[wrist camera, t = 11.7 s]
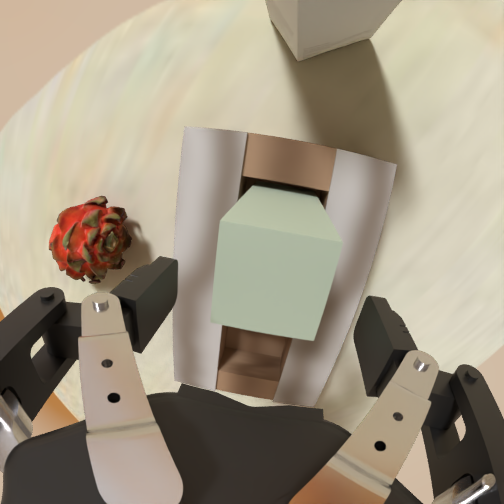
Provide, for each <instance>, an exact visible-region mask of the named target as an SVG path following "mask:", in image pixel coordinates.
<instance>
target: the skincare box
mask: <svg viewBox="0 0 504 504" xmlns="http://www.w3.org/2000/svg"><path fill="white" fill-rule="evenodd" d="M265 1H266V5H267V9H268V13H269V18H270V19H271V20H272V22H273V23H274V25H275V26H276V28H277V29H278V31H279V32H280V34H281V35H282V37H283V39H284V40H285V42H286V43H287V45H288V46H289V48H290V50H291V51H292V53H293V55H294V56H295V58H296V60H297V61H302V60H305V59H308V58H310V57H313V56H316V55H318V54H321V53H324V52H327V51H330V50H333V49H336V48H340V47H343V46H346V45H349V44H352V43H355V42H358V41H361V40H365V39H370V38H371V37H372V36H373V34H374V33H375V32H376V31H377V30H378V28H379V27H380V26H381V25H382V23H383V22H384V21H385V20H386V19H387V17H388V16H389V15H390V14H391V13H392V11H393V10H394V9H395V8H396V6H397V5H398V4H399V3H400V2H401V1H402V0H265Z"/></svg>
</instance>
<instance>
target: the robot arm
mask: <svg viewBox="0 0 504 504" xmlns="http://www.w3.org/2000/svg"><path fill="white" fill-rule="evenodd" d="M177 293H178V261H177V260H176V259H171V258H167V257H162V256H160V257H158V258H157V259H156V260H155V261H154V262H153V263H152V264H151V265H145V266H142V267H140V268H137V269H136V270H135V271H134V272H133V273H131V275H129V276H128V277H127V278H126V279H125V280H123V281H122V282H121V283H120V284H119V285H118V286H117V287H116V288H114V289H113V290H112V291H111V292H110V293H105V292H100V293H94V294H91V295H89V296H87V297H86V298H85V299H84V300H83V301H82V303H73V302H66V301H65V296H64V292H63V291H62V290H61V289H59V288H54V287H48V288H43V289H40V290H38V291H37V292H35V293H34V294H33V295H31V296H30V297H29V298H28V299H27V300H25V301H24V302H23V303H22V304H20V305H19V306H18V307H17V308H16V309H14V310H13V311H12V312H11V313H10V314H9V315H7V316H6V317H5V318H4V319H3V320H2V321H1V322H0V471H1V472H2V473H3V494H2V501H1V504H423V503H421V501H419V500H418V499H417V498H416V497H415V496H414V495H413V494H412V493H411V492H410V491H409V490H408V489H407V488H406V487H404V486H403V485H402V484H401V483H400V482H399V481H398V480H397V479H396V478H395V477H396V476H397V474H398V472H399V471H400V469H401V467H402V465H403V463H404V461H405V460H406V458H407V456H408V454H409V452H410V450H411V448H412V446H413V444H414V442H415V440H416V438H417V436H418V434H419V432H420V429H421V431H422V435H423V439H424V444H425V449H426V453H427V458H428V464H429V469H430V475H431V481H432V488H433V495H434V500H433V502H432V504H504V419H503V417H502V414H501V412H500V410H499V408H498V406H497V403H496V401H495V399H494V397H493V395H492V393H491V391H490V389H489V387H488V385H487V383H486V381H485V379H484V377H483V376H482V374H481V373H480V372H479V371H478V370H477V369H476V368H474V367H472V366H470V365H465V364H463V365H460V366H459V367H458V368H457V369H456V371H455V372H454V374H450V373H447V372H443V371H440V370H439V366H438V363H437V362H436V360H435V359H434V358H433V357H432V356H431V355H429V354H427V353H425V352H423V351H419V350H418V349H417V347H416V345H415V343H414V341H413V339H412V337H411V335H410V333H409V331H408V329H407V327H405V326H406V325H405V323H404V322H403V320H402V318H401V317H400V316H399V315H398V314H397V313H396V312H395V311H392V310H391V308H390V306H389V304H388V302H387V300H386V299H385V298H381V297H375V296H368V297H367V298H366V300H365V302H364V305H363V308H362V310H361V313H360V316H359V318H358V321H357V323H356V326H355V330H354V343H355V347H356V351H357V355H358V359H359V363H360V367H361V372H362V376H363V381H364V385H365V390H366V394H367V396H369V397H378V400H377V401H376V403H375V404H374V406H373V407H372V408H371V410H370V411H369V413H368V414H367V415H366V417H365V418H364V419H363V421H362V422H361V423H360V425H359V426H358V427H357V428H356V430H355V431H354V432H353V434H351V433H349V432H348V431H347V430H345V429H344V428H342V427H340V426H338V425H336V424H334V423H332V422H329V421H327V420H324V419H323V409H316V408H306V407H297V406H289V405H288V406H269V407H251V406H247V405H245V404H242V403H240V402H238V401H235V400H233V399H231V398H228V397H226V396H224V395H221V394H219V393H217V392H214V391H209V390H205V389H201V388H197V387H194V386H190V385H186V384H181V386H180V389H179V391H178V393H175V392H164V393H155V394H150V395H146V393H145V390H144V387H143V384H142V381H141V378H140V374H139V371H138V368H137V364H136V361H135V357H134V354H133V351H135V352H138V353H142V352H143V350H144V349H145V347H146V346H147V344H148V343H149V341H150V340H151V338H152V337H153V336H154V334H155V333H156V331H157V330H158V328H159V327H160V325H161V324H162V323H163V321H164V320H165V318H166V317H167V315H168V314H169V312H170V311H171V310H172V308H173V307H174V305H175V303H176V299H177ZM41 336H42V338H43V340H44V343H45V344H44V346H43V347H42V348H41V349H40V350H39V351H38V352H37V353H36V354H35V355H34V357H33V358H32V359H31V355H30V353H31V348H32V346H33V345H34V344H35V343H36V342H37V340H38V339H39V338H40V337H41ZM76 360H79V366H80V379H81V389H82V398H83V406H84V413H85V420H83V421H80V422H77V423H74V424H72V425H69V426H66V427H63V428H60V429H57V430H54V431H51V432H48V433H45V434H42V435H38V436H35V437H31V435H32V431H33V425H32V421H33V420H34V418H35V417H36V415H37V414H38V412H39V411H40V409H41V408H42V406H43V405H44V403H45V402H46V401H47V399H48V398H49V396H50V395H51V394H52V392H53V391H54V389H55V388H56V387H57V385H58V384H59V383H60V381H61V380H62V378H63V377H64V376H65V374H66V373H67V372H68V370H69V369H70V368H71V366H72V365H73V364H74V362H75V361H76ZM461 415H462V418H463V420H464V423H465V426H466V433H465V436H464V438H463V439H462V440H461V441H460V439H459V436H458V433H457V429H456V427H455V421H456V420H457V419H458V418H459V417H460V416H461Z"/></svg>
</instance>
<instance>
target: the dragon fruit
mask: <svg viewBox="0 0 504 504" xmlns="http://www.w3.org/2000/svg"><path fill="white" fill-rule="evenodd" d="M106 203H108V201H107V199H106V197H105V196H99V197H96V198H94V199H91V200H89V201H87V202H86V203H85V204H82V205H78V206H75V207H70V208H67V209H65V210H64V211H62V212H61V213H60V214H59V216H58V218H57V222H58V224H57V225H55V226H54V229H53V232H52V234H51V237H50V240H49V250H51V251H52V255H53V259H54V260H56V262H57V263H58V265H59V269H60V271H63V270H66V274H67V275H68V276H70V277H71V278H73V279H75V280H78V279H81V280H82V281H83V282H84V281H85V278H83V276H84V275H85V274H86V275H87V277H89V278H90V279H91V280H92V281H89V283H91V284H96V283H100V282H101V281H100V279H104V278H105V275H106V273H107V268H108V269H121V268H122V267H123V265H124V263H125V260H124V259H123V258H122V252H124V251H125V250H126V249H127V248H128V247H130V244H131V240H132V238H131V237H130V235H129V234H128V232H127V229H126V227H125V226H124V225H122V223H123V221H124V220H125V219H126V218H127V215H126V212H125V209H124V208H120V207H110V208H106Z"/></svg>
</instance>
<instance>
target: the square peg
mask: <svg viewBox="0 0 504 504" xmlns="http://www.w3.org/2000/svg"><path fill="white" fill-rule="evenodd" d="M342 245H343V242H342V240H341V238H340V236H339V234H338V232H337V230H336V229H335V227H334V225H333V223H332V221H331V220H330V218H329V216H328V214H327V213H326V211H325V209H324V207H323V206H322V204H321V202H320V200H319V199H318V197H317V195H316V194H315V192H314V191H312V190H307V189H302V188H297V187H291V186H286V185H280V184H274V183H268V182H262V181H257V182H256V183H255V184H254V185H253V186H252V187H251V188H250V189H249V190H248V191H247V192H246V193H245V194H244V195H243V196H242V197H241V198H240V199H239V201H238V202H237V203H236V204H235V205H234V206H233V207H232V208H231V209H230V210H229V211H228V212H227V213H226V214H225V216H224V217H223V218H222V219H221V220H220V224H219V233H218V243H217V252H216V262H215V273H214V283H213V295H212V306H211V318H210V322H211V323H215V324H220V325H225V326H230V327H235V328H240V329H245V330H250V331H255V332H261V333H266V334H272V335H278V336H284V337H290V338H297V339H303V340H310V341H314V339H315V336H316V333H317V330H318V327H319V324H320V321H321V318H322V315H323V311H324V308H325V305H326V302H327V299H328V295H329V292H330V289H331V285H332V282H333V278H334V275H335V271H336V268H337V264H338V260H339V257H340V253H341V249H342Z"/></svg>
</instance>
